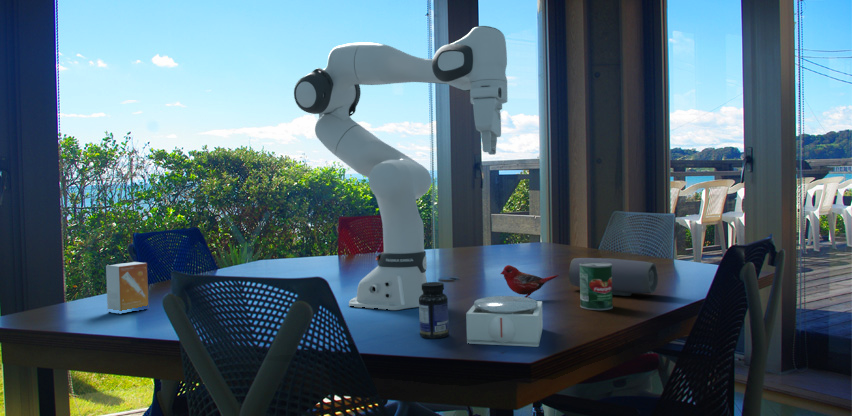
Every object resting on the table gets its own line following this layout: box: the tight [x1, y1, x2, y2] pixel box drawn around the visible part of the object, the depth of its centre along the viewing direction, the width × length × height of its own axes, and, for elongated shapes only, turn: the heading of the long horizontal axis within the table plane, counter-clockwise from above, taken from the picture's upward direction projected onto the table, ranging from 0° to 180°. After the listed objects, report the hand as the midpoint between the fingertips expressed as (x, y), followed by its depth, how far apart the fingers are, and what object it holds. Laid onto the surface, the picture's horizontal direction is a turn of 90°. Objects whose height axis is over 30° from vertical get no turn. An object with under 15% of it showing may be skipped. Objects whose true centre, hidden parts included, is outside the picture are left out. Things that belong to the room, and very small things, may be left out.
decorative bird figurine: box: [500, 264, 559, 299], centre depth 151 cm, size 3×18×10 cm, turn 107°
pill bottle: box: [418, 281, 450, 339], centre depth 117 cm, size 6×6×11 cm
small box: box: [105, 261, 149, 311], centre depth 151 cm, size 8×6×13 cm
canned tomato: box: [579, 262, 614, 311], centre depth 140 cm, size 8×8×11 cm
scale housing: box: [465, 300, 544, 348], centre depth 115 cm, size 14×15×6 cm
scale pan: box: [473, 295, 538, 314], centre depth 115 cm, size 13×13×4 cm
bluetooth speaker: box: [568, 257, 659, 297], centre depth 157 cm, size 23×9×10 cm, turn 50°
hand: (489, 153), depth 133 cm, fingers open, 8 cm apart
